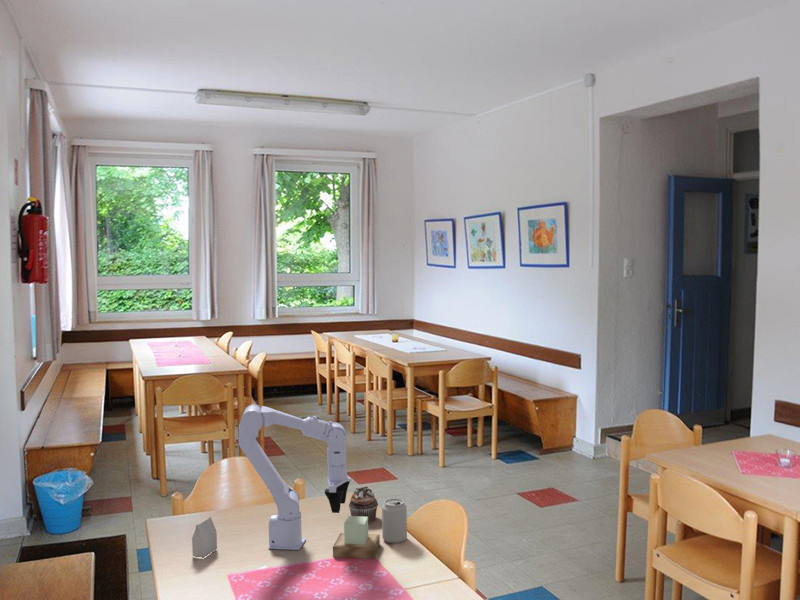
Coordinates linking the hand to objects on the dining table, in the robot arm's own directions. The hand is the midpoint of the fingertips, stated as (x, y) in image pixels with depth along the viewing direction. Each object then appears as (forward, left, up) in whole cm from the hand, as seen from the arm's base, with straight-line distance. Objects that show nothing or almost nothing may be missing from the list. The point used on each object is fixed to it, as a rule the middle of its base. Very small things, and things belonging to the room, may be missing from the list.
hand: (338, 507), depth 214 cm
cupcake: (+4, +19, -11) cm, 22 cm away
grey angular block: (-37, -13, -11) cm, 41 cm away
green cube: (+7, -6, -7) cm, 12 cm away
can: (+17, +3, -11) cm, 20 cm away
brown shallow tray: (+7, -6, -10) cm, 14 cm away
